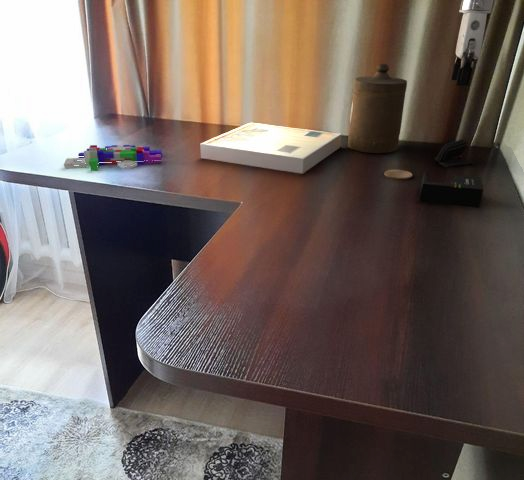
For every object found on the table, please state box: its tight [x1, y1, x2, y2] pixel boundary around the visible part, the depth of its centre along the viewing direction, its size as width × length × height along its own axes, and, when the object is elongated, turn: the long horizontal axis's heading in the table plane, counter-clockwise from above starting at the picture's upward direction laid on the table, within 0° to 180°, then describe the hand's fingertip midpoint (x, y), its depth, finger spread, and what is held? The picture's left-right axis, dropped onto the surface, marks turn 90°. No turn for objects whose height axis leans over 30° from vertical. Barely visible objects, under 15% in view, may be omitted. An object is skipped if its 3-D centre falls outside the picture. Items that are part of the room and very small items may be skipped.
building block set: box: [63, 144, 163, 172], centre depth 137 cm, size 25×20×4 cm
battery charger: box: [419, 171, 484, 208], centre depth 115 cm, size 13×10×4 cm
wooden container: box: [347, 63, 408, 154], centre depth 146 cm, size 15×15×22 cm
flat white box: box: [199, 122, 343, 175], centre depth 145 cm, size 30×4×30 cm
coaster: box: [383, 169, 413, 180], centre depth 130 cm, size 7×7×1 cm
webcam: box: [434, 138, 473, 168], centre depth 138 cm, size 9×6×6 cm
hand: (459, 82), depth 136 cm, fingers open, 9 cm apart
